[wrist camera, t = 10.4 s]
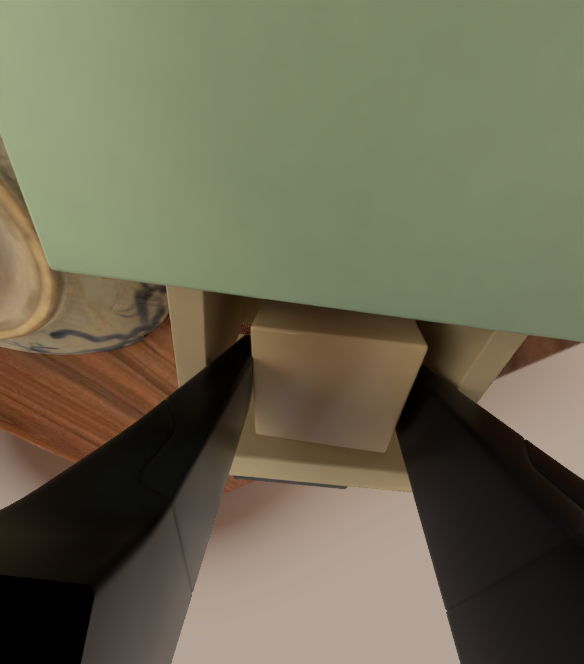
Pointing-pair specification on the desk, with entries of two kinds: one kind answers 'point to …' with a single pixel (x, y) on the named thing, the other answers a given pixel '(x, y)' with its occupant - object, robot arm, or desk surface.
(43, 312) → the decorative bowl
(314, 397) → the block
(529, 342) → the desk surface
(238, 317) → the drawer
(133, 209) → the cabinet
